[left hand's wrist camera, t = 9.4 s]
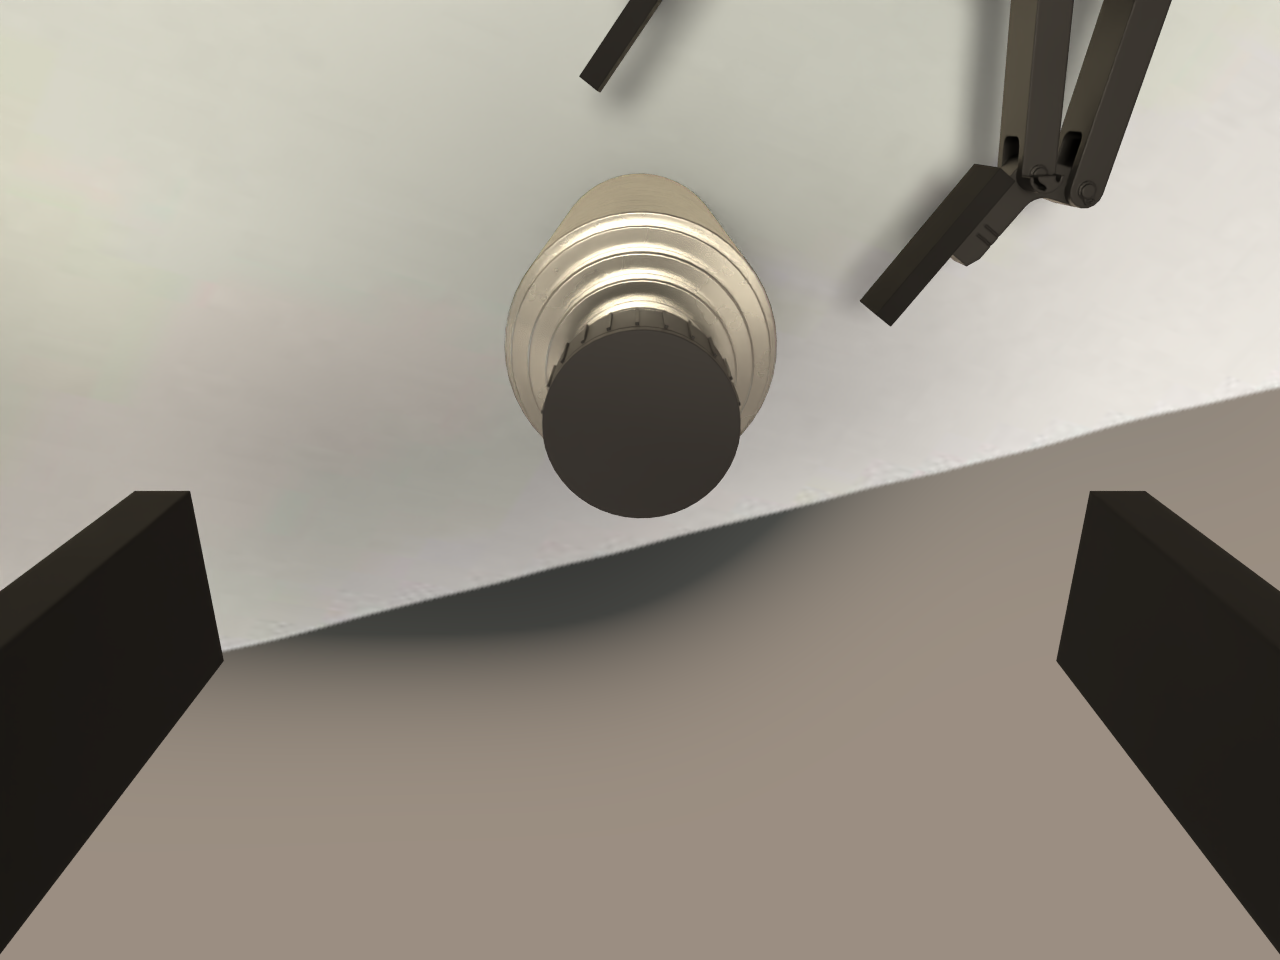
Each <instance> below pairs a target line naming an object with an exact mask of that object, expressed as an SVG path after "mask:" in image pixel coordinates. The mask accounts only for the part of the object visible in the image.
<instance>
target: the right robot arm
mask: <svg viewBox="0 0 1280 960" xmlns="http://www.w3.org/2000/svg"><path fill="white" fill-rule="evenodd" d="M1171 1H1172V0H1104V1H1103V4H1102V7H1101V10H1100V13H1099V16H1098V19H1097V22H1096V25H1095V28H1094V31H1093V35H1092V38H1091V41H1090V44H1089V47H1088V50H1087V53H1086V56H1085V59H1084V62H1083V65H1082V68H1081V71H1080V74H1079V77H1078V80H1077V83H1076V86H1075V89H1074V92H1073V95H1072V98H1071V101H1070V104H1069V107H1068V110H1067V113H1066V116H1065V119H1064V122H1063V125H1062V128H1061V119H1062V109H1063V100H1064V90H1065V80H1066V71H1067V61H1068V52H1069V42H1070V32H1071V23H1072V13H1073V4H1074V0H1011V8H1010V20H1009V32H1008V45H1007V57H1006V69H1005V81H1004V94H1003V106H1002V118H1001V131H1000V143H999V155H998V167H991V166H985V165H978V164H974V165H973V166H972V167H971V169H970V170H969V171H968V172H967V173H966V175H965V176H964V177H963V178H962V179H961V181H960V182H959V183H958V184H957V185H956V187H955V188H954V189H953V190H952V191H951V193H950V194H949V195H948V196H947V197H946V199H945V200H944V201H943V202H942V203H941V204H940V206H939V207H938V208H937V209H936V210H935V212H934V213H933V214H932V215H931V216H930V218H929V219H928V220H927V221H926V222H925V224H924V225H923V226H922V227H921V228H920V230H919V231H918V232H917V233H916V234H915V236H914V237H913V238H912V239H911V240H910V242H909V243H908V244H907V245H906V246H905V247H904V249H903V250H902V251H901V252H900V253H899V255H898V256H897V257H896V258H895V259H894V261H893V262H892V263H891V264H890V265H889V267H888V268H887V269H886V270H885V271H884V273H883V274H882V275H881V276H880V277H879V279H878V280H877V281H876V282H875V283H874V284H873V286H872V287H871V288H870V289H869V290H868V292H867V293H866V294H865V295H864V296H863V298H862V299H861V300H860V302H862V303H863V304H864V305H865V306H866V307H867V308H869V309H870V310H871V311H872V312H873V313H874V314H876V315H877V316H878V317H879V318H881V319H882V320H883V321H884V322H886V323H887V324H888V325H889V326H892V325H893V323H894V322H895V321H896V320H897V319H898V318H899V316H900V315H901V314H902V313H903V312H904V311H905V309H906V308H907V307H908V306H909V305H910V304H911V302H912V301H913V300H914V299H915V298H916V297H917V296H918V294H919V293H920V292H921V291H922V290H923V289H924V287H925V286H926V285H927V284H928V283H929V282H930V280H931V279H932V278H933V277H934V276H935V275H936V273H937V272H938V271H939V270H940V269H941V268H942V266H943V265H944V264H945V263H946V262H947V261H948V259H949V258H950V257H951V258H952V259H953V260H954V261H956V262H958V263H960V264H962V265H965V266H968V265H970V264H972V263H973V262H975V261H977V260H979V259H980V258H981V257H982V256H983V255H984V253H985V252H986V251H987V250H988V249H989V248H990V246H991V245H992V244H993V243H994V242H995V241H996V240H997V239H998V237H999V236H1000V235H1001V234H1002V233H1003V232H1004V230H1005V229H1006V228H1007V227H1008V226H1009V225H1010V224H1011V222H1012V221H1013V220H1014V219H1015V218H1016V217H1017V216H1018V214H1019V213H1020V212H1021V211H1022V210H1023V209H1024V208H1025V206H1027V205H1028V204H1029V203H1030V202H1032V201H1033V200H1036V199H1039V198H1043V199H1046V200H1049V201H1051V202H1054V203H1059V204H1064V205H1068V206H1073V207H1078V208H1089V207H1091V206H1094V205H1095V204H1096V203H1097V202H1098V201H1099V200H1100V199H1101V197H1102V195H1103V193H1104V190H1105V187H1106V184H1107V181H1108V179H1109V176H1110V173H1111V170H1112V167H1113V164H1114V162H1115V159H1116V156H1117V153H1118V150H1119V148H1120V145H1121V142H1122V139H1123V136H1124V133H1125V131H1126V128H1127V125H1128V122H1129V119H1130V117H1131V114H1132V111H1133V108H1134V105H1135V102H1136V100H1137V97H1138V94H1139V91H1140V88H1141V86H1142V83H1143V80H1144V77H1145V74H1146V71H1147V69H1148V66H1149V63H1150V60H1151V57H1152V55H1153V52H1154V49H1155V46H1156V43H1157V40H1158V38H1159V35H1160V32H1161V29H1162V26H1163V24H1164V21H1165V18H1166V15H1167V12H1168V9H1169V7H1170V4H1171ZM661 2H662V0H630V1H629V2H628V4H627V5H626V7H625V8H624V10H623V11H622V13H621V14H620V16H619V17H618V19H617V20H616V22H615V23H614V25H613V26H612V28H611V29H610V31H609V32H608V34H607V35H606V37H605V38H604V40H603V41H602V43H601V44H600V46H599V47H598V49H597V50H596V52H595V53H594V55H593V56H592V58H591V59H590V61H589V63H588V64H587V66H586V67H585V69H584V70H583V72H582V73H581V75H580V76H579V77H581V78H582V79H583V80H584V81H586V82H587V83H588V84H589V85H591V86H592V87H593V88H594V89H596V90H597V91H599V92H601V91H602V89H603V88H604V86H605V85H606V83H607V82H608V80H609V79H610V77H611V76H612V74H613V73H614V71H615V70H616V68H617V67H618V65H619V64H620V62H621V61H622V59H623V58H624V56H625V55H626V53H627V52H628V51H629V49H630V48H631V46H632V45H633V43H634V42H635V40H636V39H637V37H638V36H639V34H640V33H641V31H642V30H643V28H644V27H645V25H646V24H647V22H648V21H649V19H650V18H651V16H652V15H653V13H654V12H655V10H656V9H657V8H658V6H659V5H660V3H661ZM1060 128H1061V131H1060Z"/></svg>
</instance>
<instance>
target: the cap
mask: <svg viewBox="0 0 1280 960" xmlns="http://www.w3.org/2000/svg"><path fill="white" fill-rule="evenodd" d="M731 380H733V377H732V374H731V372H730V369H729V366H728V363H727V360H726V358H724V359H723V358H722V356H721V355H720V353H719V351H718V350H717V348H716V347H715V346H714V343H713V340H712V338H711V337H707V336H706V335H705V334H704V333H703V332H702V331H700V330H699V329H698V328H696V327H695V326H693V325H692V322H691V321H690V320H688V321H685V320H683V319H681V318H679V317H677V316H674V315H671V314H669V313H667V312H666V310H663V311H662V312H660V311H655V310H646V309H644V310H639V307H636V308H635V310H628V311H622V312H618V313H614V314H612V312H610V313H609V314H608V316H606V317H604V318H601V319H599V320H597V321H595V322H594V323H592V324H590V325H588V324H586V325H585V326H584V330H582V331H581V332H580V333H579V334H578V335H577V336H576V337H575V338H574V339H573V340H572V341H571V342H570V343H568V342H567V343H566V345H565V348H564V351H563V353H562V355H561V357H560V359H559V361H558V363H557V366H556V365H554V366H553V369H552V372H551V375H550V378H549V381H548V384H547V387H549V390H548V392H547V395H546V398H545V401H544V404H543V407H542V410H541V414H543V416H542V432H543V439H544V444H545V449H546V451H547V454H548V457H549V460H550V462H551V464H552V466H553V468H554V470H555V471H556V473H557V474H558V476H559V477H560V479H561V480H562V481H563V482H564V483H565V485H566V486H567V487H568V488H569V489H570V490H571V491H572V492H573V493H575V494H576V495H577V496H578V497H579V498H581V499H582V500H584V501H585V502H587V503H588V504H590V505H592V506H594V507H596V508H598V509H600V510H602V511H605V512H608V513H611V514H614V515H619V516H623V517H631V518H652V517H659V516H664V515H668V514H672V513H675V512H678V511H680V510H683V509H685V508H687V507H689V506H691V505H692V504H694V503H696V502H698V501H699V500H700V499H702V498H703V497H704V496H706V495H707V494H708V493H709V492H710V491H711V490H712V489H714V488H715V487H716V485H717V484H718V483H719V482H720V481H721V479H722V478H723V477H724V475H725V474H726V472H727V471H728V469H729V467H730V465H731V463H732V461H733V459H734V457H735V454H736V451H737V447H738V444H739V438H740V432H741V417H740V408H739V406H741V403H740V400H739V397H738V394H737V391H736V389H735V386H734V383H732V381H731Z"/></svg>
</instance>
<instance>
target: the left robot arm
mask: <svg viewBox="0 0 1280 960" xmlns="http://www.w3.org/2000/svg"><path fill="white" fill-rule="evenodd" d="M223 661H224V660H223V655H222V650H221V645H220V640H219V635H218V630H217V625H216V620H215V615H214V610H213V605H212V600H211V595H210V589H209V584H208V579H207V574H206V569H205V564H204V559H203V554H202V549H201V544H200V539H199V534H198V529H197V524H196V519H195V514H194V509H193V504H192V499H191V494H190V491H134V492H133V493H132V494H130V495H129V496H128V497H126V498H125V499H124V500H122V501H121V502H120V503H118V504H117V505H116V506H114V507H113V508H111V509H110V510H109V511H107V512H106V513H105V514H103V515H102V516H101V517H99V518H98V519H97V520H95V521H94V522H93V523H91V524H90V525H89V526H87V527H86V528H85V529H83V530H82V531H81V532H79V533H78V534H77V535H75V536H74V537H73V538H71V539H70V540H69V541H67V542H66V543H65V544H63V545H62V546H60V547H59V548H58V549H56V550H55V551H54V552H52V553H51V554H50V555H48V556H47V557H46V558H44V559H43V560H42V561H40V562H39V563H38V564H36V565H35V566H34V567H32V568H31V569H30V570H28V571H27V572H26V573H24V574H23V575H22V576H20V577H19V578H18V579H16V580H15V581H14V582H12V583H11V584H9V585H8V586H7V587H5V588H4V589H3V590H1V591H0V954H1V952H2V951H3V950H4V948H5V947H6V946H7V944H8V943H9V942H10V941H11V939H12V938H13V937H14V935H15V934H16V933H17V931H18V930H19V929H20V927H21V926H22V925H23V923H24V922H25V921H26V920H27V918H28V917H29V916H30V914H31V913H32V912H33V910H34V909H35V908H36V906H37V905H38V904H39V902H40V901H41V900H42V899H43V897H44V896H45V895H46V893H47V892H48V891H49V889H50V888H51V887H52V885H53V884H54V883H55V881H56V880H57V879H58V878H59V876H60V875H61V874H62V872H63V871H64V870H65V868H66V867H67V866H68V864H69V863H70V862H71V861H72V859H73V858H74V857H75V855H76V854H77V853H78V851H79V850H80V849H81V847H82V846H83V845H84V843H85V842H86V841H87V839H88V838H89V837H90V836H91V834H92V833H93V832H94V830H95V829H96V828H97V826H98V825H99V824H100V822H101V821H102V820H103V818H104V817H105V816H106V815H107V813H108V812H109V811H110V809H111V808H112V807H113V805H114V804H115V803H116V801H117V800H118V799H119V798H120V796H121V795H122V794H123V792H124V791H125V790H126V788H127V787H128V786H129V784H130V783H131V782H132V780H133V779H134V778H135V777H136V775H137V774H138V773H139V771H140V770H141V769H142V767H143V766H144V765H145V763H146V762H147V761H148V759H149V758H150V757H151V756H152V754H153V753H154V752H155V750H156V749H157V748H158V746H159V745H160V744H161V742H162V741H163V740H164V739H165V737H166V736H167V735H168V733H169V732H170V731H171V729H172V728H173V727H174V725H175V724H176V723H177V721H178V720H179V719H180V717H181V716H182V715H183V714H184V712H185V711H186V710H187V708H188V707H189V706H190V704H191V703H192V702H193V700H194V699H195V698H196V697H197V695H198V694H199V693H200V691H201V690H202V689H203V687H204V686H205V685H206V683H207V682H208V681H209V679H210V678H211V677H212V675H213V674H214V673H215V672H216V670H217V669H218V668H219V666H220V665H221V664H222V662H223ZM1056 661H1057V662H1058V664H1059V665H1060V666H1061V668H1062V669H1063V670H1064V671H1065V673H1066V674H1067V675H1068V677H1069V678H1070V679H1071V681H1072V682H1073V683H1074V685H1075V686H1076V687H1077V689H1078V690H1079V691H1080V693H1081V694H1082V695H1083V697H1084V698H1085V699H1086V700H1087V702H1088V703H1089V704H1090V706H1091V707H1092V708H1093V710H1094V711H1095V712H1096V714H1097V715H1098V716H1099V718H1100V719H1101V720H1102V721H1103V723H1104V724H1105V725H1106V727H1107V728H1108V729H1109V731H1110V732H1111V733H1112V735H1113V736H1114V737H1115V738H1116V740H1117V741H1118V742H1119V744H1120V745H1121V746H1122V748H1123V749H1124V750H1125V752H1126V753H1127V754H1128V756H1129V757H1130V758H1131V759H1132V761H1133V762H1134V763H1135V765H1136V766H1137V767H1138V769H1139V770H1140V771H1141V773H1142V774H1143V775H1144V777H1145V778H1146V779H1147V780H1148V782H1149V783H1150V784H1151V786H1152V787H1153V788H1154V790H1155V791H1156V792H1157V794H1158V795H1159V796H1160V797H1161V799H1162V800H1163V801H1164V803H1165V804H1166V805H1167V807H1168V808H1169V809H1170V811H1171V812H1172V813H1173V815H1174V816H1175V817H1176V819H1177V820H1178V821H1179V822H1180V824H1181V825H1182V826H1183V828H1184V829H1185V830H1186V832H1187V833H1188V834H1189V836H1190V837H1191V838H1192V840H1193V841H1194V842H1195V843H1196V845H1197V846H1198V847H1199V849H1200V850H1201V851H1202V853H1203V854H1204V855H1205V857H1206V858H1207V859H1208V860H1209V862H1210V863H1211V864H1212V866H1213V867H1214V868H1215V870H1216V871H1217V872H1218V874H1219V875H1220V876H1221V878H1222V879H1223V880H1224V881H1225V883H1226V884H1227V885H1228V887H1229V888H1230V889H1231V891H1232V892H1233V893H1234V895H1235V896H1236V897H1237V899H1238V900H1239V901H1240V902H1241V904H1242V905H1243V906H1244V908H1245V909H1246V910H1247V912H1248V913H1249V914H1250V916H1251V917H1252V918H1253V919H1254V921H1255V922H1256V923H1257V925H1258V926H1259V927H1260V929H1261V930H1262V931H1263V933H1264V934H1265V935H1266V937H1267V938H1268V939H1269V941H1270V942H1271V943H1272V944H1273V946H1274V947H1275V948H1276V950H1277V951H1278V952H1279V954H1280V591H1279V590H1277V589H1276V588H1275V587H1273V586H1272V585H1271V584H1269V583H1268V582H1266V581H1265V580H1264V579H1262V578H1261V577H1260V576H1258V575H1257V574H1256V573H1254V572H1253V571H1252V570H1250V569H1249V568H1248V567H1246V566H1245V565H1244V564H1242V563H1241V562H1240V561H1238V560H1237V559H1236V558H1234V557H1233V556H1232V555H1230V554H1229V553H1228V552H1226V551H1225V550H1224V549H1222V548H1221V547H1220V546H1218V545H1217V544H1215V543H1214V542H1213V541H1211V540H1210V539H1209V538H1207V537H1206V536H1205V535H1203V534H1202V533H1201V532H1199V531H1198V530H1197V529H1195V528H1194V527H1193V526H1191V525H1190V524H1189V523H1187V522H1186V521H1185V520H1183V519H1182V518H1181V517H1179V516H1178V515H1177V514H1175V513H1174V512H1172V511H1171V510H1170V509H1169V508H1167V507H1166V506H1164V505H1163V504H1162V503H1160V502H1159V501H1158V500H1156V499H1155V498H1154V497H1152V496H1151V495H1150V494H1148V493H1147V492H1146V491H1090V494H1089V499H1088V504H1087V509H1086V514H1085V519H1084V524H1083V529H1082V534H1081V539H1080V544H1079V549H1078V554H1077V559H1076V564H1075V570H1074V574H1073V579H1072V584H1071V590H1070V595H1069V600H1068V605H1067V610H1066V615H1065V620H1064V625H1063V630H1062V635H1061V640H1060V645H1059V650H1058V655H1057V660H1056Z"/></svg>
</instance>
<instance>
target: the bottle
mask: <svg viewBox="0 0 1280 960" xmlns="http://www.w3.org/2000/svg"><path fill="white" fill-rule="evenodd" d="M636 307H639V310H644V309H646V310H655V311H660V312H662V311H663V310H666V312H667V313H669V314H671V315H674V316H677V317H679V318H681V319H683V320H685V321H688V320H690V321H691V322H692V325H693V326H695V327H696V328H698V329H699V330H700V331H702V332H703V333H704V334H705V335H706V336H707V337H711V338H712V340H713V343H714V346H715V347H716V348H717V350H718V351H719V353H720V355H721V356H722V358H723V359H724V358H726V360H727V363H728V366H729V369H730V372H731V374H732V377H733V380H731V381H732V383H734V386H735V389H736V391H737V394H738V397H739V400H740V403H741V406H739V408H740V417H741V432H740V435H741V434H742V433H743V432H744V431H745V430H746V428H747V427H748V426H749V425H750V423H751V422H752V421H753V419H754V418H755V416H756V414H757V413H758V411H759V410H760V408H761V406H762V404H763V402H764V400H765V397H766V395H767V393H768V390H769V387H770V384H771V381H772V377H773V374H774V368H775V362H776V348H777V338H776V328H775V321H774V316H773V312H772V308H771V305H770V302H769V299H768V297H767V294H766V292H765V289H764V287H763V285H762V284H761V282H760V280H759V278H758V276H757V275H756V273H755V271H754V270H753V269H752V267H751V266H750V265H749V263H748V262H747V261H746V259H745V258H744V257H743V255H742V254H741V252H740V251H739V250H738V248H737V247H736V246H735V244H734V243H733V242H732V240H731V239H730V238H729V236H728V235H727V233H726V232H725V231H724V229H723V228H722V227H721V225H720V224H719V223H718V221H717V220H716V219H715V217H714V216H713V215H712V213H711V212H710V210H709V209H708V208H707V206H706V205H705V204H704V203H703V202H702V201H701V200H700V199H699V198H698V197H697V196H696V195H695V194H694V193H693V192H691V191H690V190H689V189H688V188H686V187H684V186H683V185H681V184H679V183H677V182H675V181H673V180H670V179H668V178H665V177H661V176H657V175H651V174H629V175H623V176H619V177H615V178H612V179H609V180H607V181H605V182H603V183H600V184H599V185H597V186H595V187H594V188H592V189H591V190H589V191H588V192H587V193H586V194H585V195H583V196H582V197H581V198H580V199H579V200H578V201H577V203H576V204H575V205H574V206H573V207H572V209H571V210H570V211H569V213H568V214H567V216H566V217H565V218H564V220H563V221H562V223H561V224H560V226H559V227H558V228H557V230H556V231H555V233H554V234H553V235H552V237H551V238H550V240H549V241H548V242H547V244H546V245H545V247H544V248H543V249H542V251H541V252H540V254H539V255H538V257H537V258H536V259H535V261H534V262H533V264H532V265H531V267H530V268H529V270H528V271H527V272H526V274H525V275H524V277H523V278H522V280H521V282H520V284H519V286H518V288H517V290H516V293H515V295H514V298H513V300H512V303H511V306H510V309H509V313H508V318H507V324H506V329H505V359H506V367H507V371H508V376H509V381H510V383H511V386H512V389H513V392H514V395H515V397H516V399H517V401H518V403H519V405H520V407H521V409H522V411H523V413H524V414H525V416H526V417H527V419H528V420H529V421H530V423H531V424H532V426H533V427H534V428H535V429H536V430H537V432H538V433H539V434H540V435H541V436H542V437H543V432H542V416H543V414H541V410H542V407H543V404H544V401H545V398H546V395H547V392H548V390H549V387H547V384H548V381H549V378H550V375H551V372H552V369H553V366H554V365H556V366H557V363H558V361H559V359H560V357H561V355H562V353H563V351H564V348H565V345H566V343H567V342H568V343H570V342H571V341H572V340H573V339H574V338H575V337H576V336H577V335H578V334H579V333H580V332H581V331H582V330H584V326H585V325H586V324H588V325H590V324H592V323H594V322H595V321H597V320H599V319H601V318H604V317H606V316H608V314H609V313H610V312H612V314H614V313H618V312H622V311H628V310H635V308H636Z"/></svg>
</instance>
